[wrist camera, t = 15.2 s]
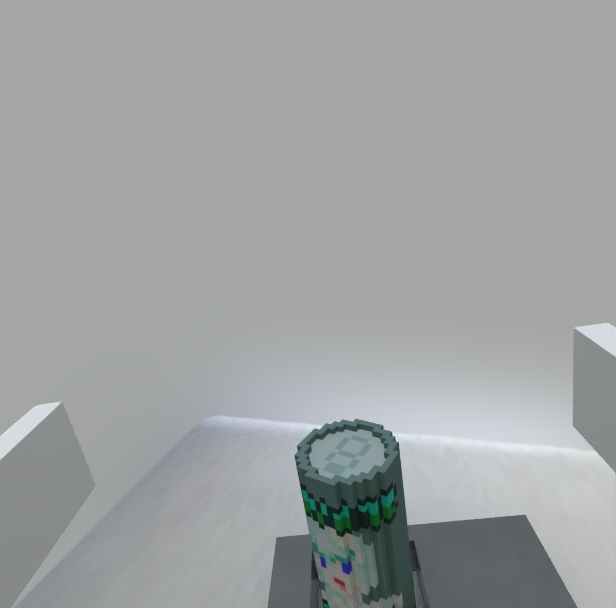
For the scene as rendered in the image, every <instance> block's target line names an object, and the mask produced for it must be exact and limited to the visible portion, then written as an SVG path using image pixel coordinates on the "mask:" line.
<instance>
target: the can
mask: <svg viewBox="0 0 616 608" xmlns="http://www.w3.org/2000/svg"><path fill="white" fill-rule="evenodd" d="M297 449H298V452H297V453H296V454H295V460H296V466H297V471H298V476H299V481H300V486H301V492H302V497H303V502H304V507H305V512H306V518H307V523H308V528H309V533H310V538H311V544H312V549H313V554H314V559H315V564H316V569H317V575H318V580H319V585H320V590H321V595H322V601H323V606H324V608H416V604H415V594H414V585H413V575H412V566H411V556H410V547H409V537H408V527H407V518H406V508H405V499H404V489H403V480H402V470H401V461H400V451H399V442H396V440H395V437H394V436H392V432H391V431H387V430H384V429H383V425H379V424H375V423H371V422H367V421H363V420H359V419H355V420H354V422H351V421H347V420H342V421H341V422H340V423H339V422H333V424H327V423H326V424H325V425H324V426H323V427H322V428H321V429H320V430H318V429H314V430H313V431H312V432H311V433H310V434H309V435H308V436H307V437H306V438H305V439H304V440H303V441H302V442H301V443H300V444H299V445H298V446H297Z"/></svg>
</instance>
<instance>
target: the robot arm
mask: <svg viewBox="0 0 616 608" xmlns="http://www.w3.org/2000/svg"><path fill="white" fill-rule="evenodd" d="M573 370H574V371H573V426H574V427H575V428H576V430H578V432H579V433H580V434H581V435H582V436H583V437H584V438H585V439H586V440H587V441H588V443H589V444H590V445H591V446H592V447H593V448H594V449H595V450H596V452H597V453H598V454H599V455H600V456H601V457H602V458H603V459H604V460H605V461H606V463H607V464H608V465H609V466H610V467H611V468H612V469H613V470H614V471H615V472H616V328H615V327H614V326H612V325H610V324H609V323H602V324H595V325H588V326H582V327H575V328H574V365H573ZM95 486H96V484H95V482H94V479H93V476H92V474H91V472H90V469H89V467H88V464H87V462H86V459H85V457H84V454H83V452H82V449H81V447H80V444H79V442H78V439H77V437H76V434H75V432H74V429H73V427H72V425H71V422H70V420H69V417H68V415H67V412H66V410H65V407H64V405H63V403H62V402H57V403H50V404H43V405H36V406H35V407H33V408H32V409H31V410H30V411H29V412H28V413H27V414H25V415H24V416H23V417H22V418H21V419H20V420H18V421H17V422H16V423H15V424H14V425H13V426H11V427H10V428H9V429H8V430H7V431H6V432H5V433H4V434H2V435H1V436H0V608H11V607H12V605H13V604H14V602H15V601H16V599H17V598H18V597H19V595H20V594H21V592H22V591H23V589H24V588H25V587H26V585H27V584H28V582H29V581H30V579H31V578H32V576H33V575H34V574H35V572H36V571H37V569H38V568H39V566H40V565H41V563H42V562H43V560H44V559H45V557H46V556H47V555H48V553H49V552H50V551H51V549H52V548H53V546H54V545H55V543H56V542H57V540H58V539H59V537H60V536H61V535H62V533H63V532H64V530H65V529H66V527H67V526H68V525H69V523H70V522H71V520H72V519H73V517H74V516H75V515H76V513H77V511H78V510H79V509H80V507H81V506H82V504H83V503H84V501H85V500H86V499H87V497H88V496H89V494H90V493H91V491H92V490H93V489H94V487H95Z"/></svg>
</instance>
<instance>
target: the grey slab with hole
mask: <svg viewBox="0 0 616 608" xmlns="http://www.w3.org/2000/svg"><path fill="white" fill-rule="evenodd" d="M407 527H408V537H409V547H410V556H411V566H412V570H417V572H418V576H419V581H420V585H421V590H422V594H423V599H424V603H425V608H577V606H576V604H575V603H574V601H573V599H572V597H571V596H570V594H569V592H568V590H567V588H566V587H565V585H564V583H563V581H562V580H561V578H560V576H559V574H558V572H557V571H556V569H555V567H554V565H553V563H552V562H551V560H550V558H549V556H548V555H547V553H546V551H545V549H544V547H543V546H542V544H541V542H540V540H539V539H538V537H537V535H536V533H535V531H534V530H533V528H532V526H531V524H530V522H529V521H528V519H527V517H526V515H517V516H506V517H495V518H484V519H473V520H462V521H451V522H441V523H430V524H419V525H408V526H407ZM317 578H318V575H317V569H316V564H315V559H314V554H313V549H312V544H311V538H310V534H309V535H298V536H287V537H277V538H276V546H275V554H274V562H273V570H272V578H271V586H270V593H269V601H268V608H317Z"/></svg>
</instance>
